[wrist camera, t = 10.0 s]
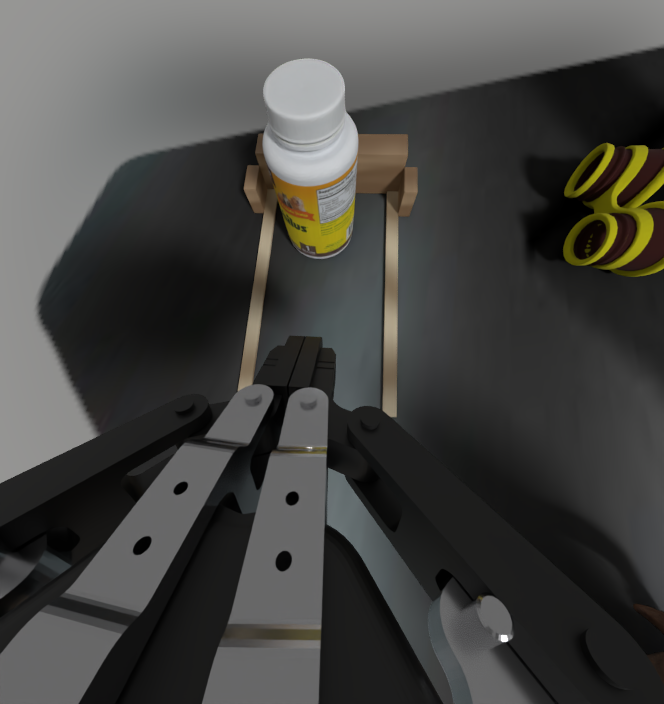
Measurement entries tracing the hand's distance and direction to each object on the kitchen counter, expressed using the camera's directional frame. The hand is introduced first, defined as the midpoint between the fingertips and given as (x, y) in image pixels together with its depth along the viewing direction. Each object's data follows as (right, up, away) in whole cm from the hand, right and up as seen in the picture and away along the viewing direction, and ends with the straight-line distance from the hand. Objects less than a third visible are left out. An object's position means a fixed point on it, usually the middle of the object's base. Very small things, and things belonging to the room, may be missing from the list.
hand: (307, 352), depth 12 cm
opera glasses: (+23, +10, +9) cm, 27 cm away
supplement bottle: (0, +10, +10) cm, 14 cm away
